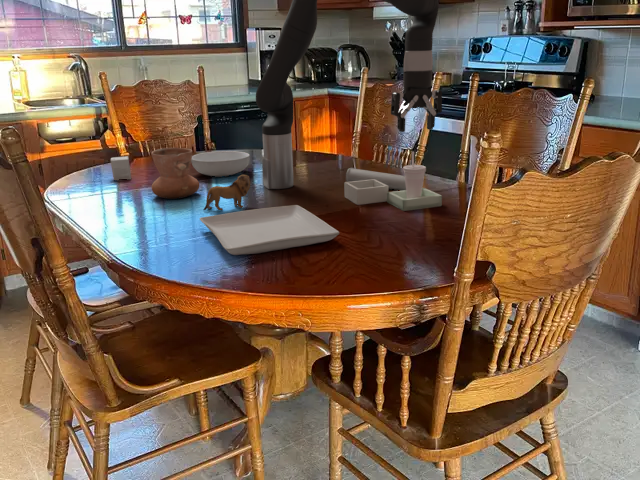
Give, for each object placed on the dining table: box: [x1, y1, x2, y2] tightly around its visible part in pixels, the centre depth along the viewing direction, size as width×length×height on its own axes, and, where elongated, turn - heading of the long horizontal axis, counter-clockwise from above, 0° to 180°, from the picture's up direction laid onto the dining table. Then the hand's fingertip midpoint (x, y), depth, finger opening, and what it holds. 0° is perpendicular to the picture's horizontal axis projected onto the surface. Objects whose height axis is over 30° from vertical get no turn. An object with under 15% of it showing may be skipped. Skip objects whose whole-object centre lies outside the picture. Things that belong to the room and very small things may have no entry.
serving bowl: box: [191, 150, 251, 178], centre depth 212 cm, size 21×21×7 cm
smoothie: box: [402, 151, 427, 199], centre depth 166 cm, size 6×6×14 cm
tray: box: [386, 187, 443, 212], centre depth 168 cm, size 12×10×3 cm
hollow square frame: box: [344, 179, 390, 206], centre depth 174 cm, size 10×10×4 cm
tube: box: [345, 167, 406, 191], centre depth 188 cm, size 5×5×25 cm
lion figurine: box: [203, 174, 251, 211], centre depth 168 cm, size 15×5×9 cm, turn 120°
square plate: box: [199, 204, 340, 256], centre depth 144 cm, size 27×27×4 cm
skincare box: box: [110, 155, 132, 181], centre depth 210 cm, size 6×6×7 cm
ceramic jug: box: [151, 147, 200, 200], centre depth 183 cm, size 18×14×14 cm
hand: (415, 130), depth 161 cm, fingers open, 8 cm apart
